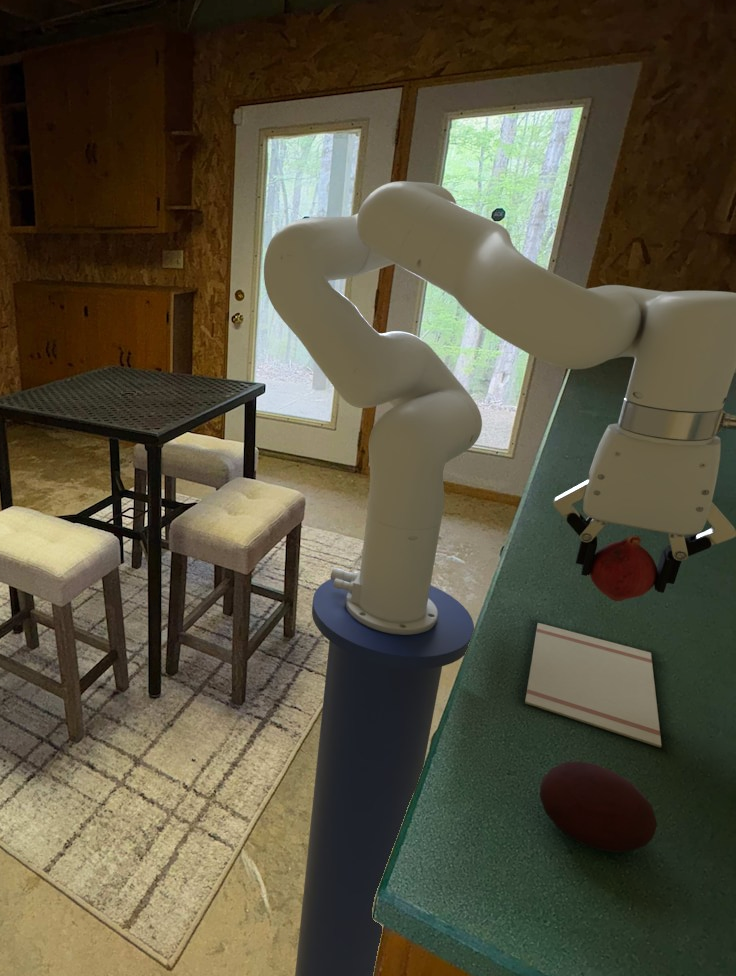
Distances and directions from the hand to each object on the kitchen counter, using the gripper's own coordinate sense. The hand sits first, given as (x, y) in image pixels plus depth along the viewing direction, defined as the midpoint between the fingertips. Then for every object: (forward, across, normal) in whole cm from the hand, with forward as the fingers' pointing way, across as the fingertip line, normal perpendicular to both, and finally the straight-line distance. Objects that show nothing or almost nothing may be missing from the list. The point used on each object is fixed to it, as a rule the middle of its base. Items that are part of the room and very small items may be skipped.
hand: (621, 577), depth 69 cm
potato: (+14, 0, +24) cm, 28 cm away
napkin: (+14, 0, 0) cm, 14 cm away
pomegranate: (+3, 0, 0) cm, 3 cm away
